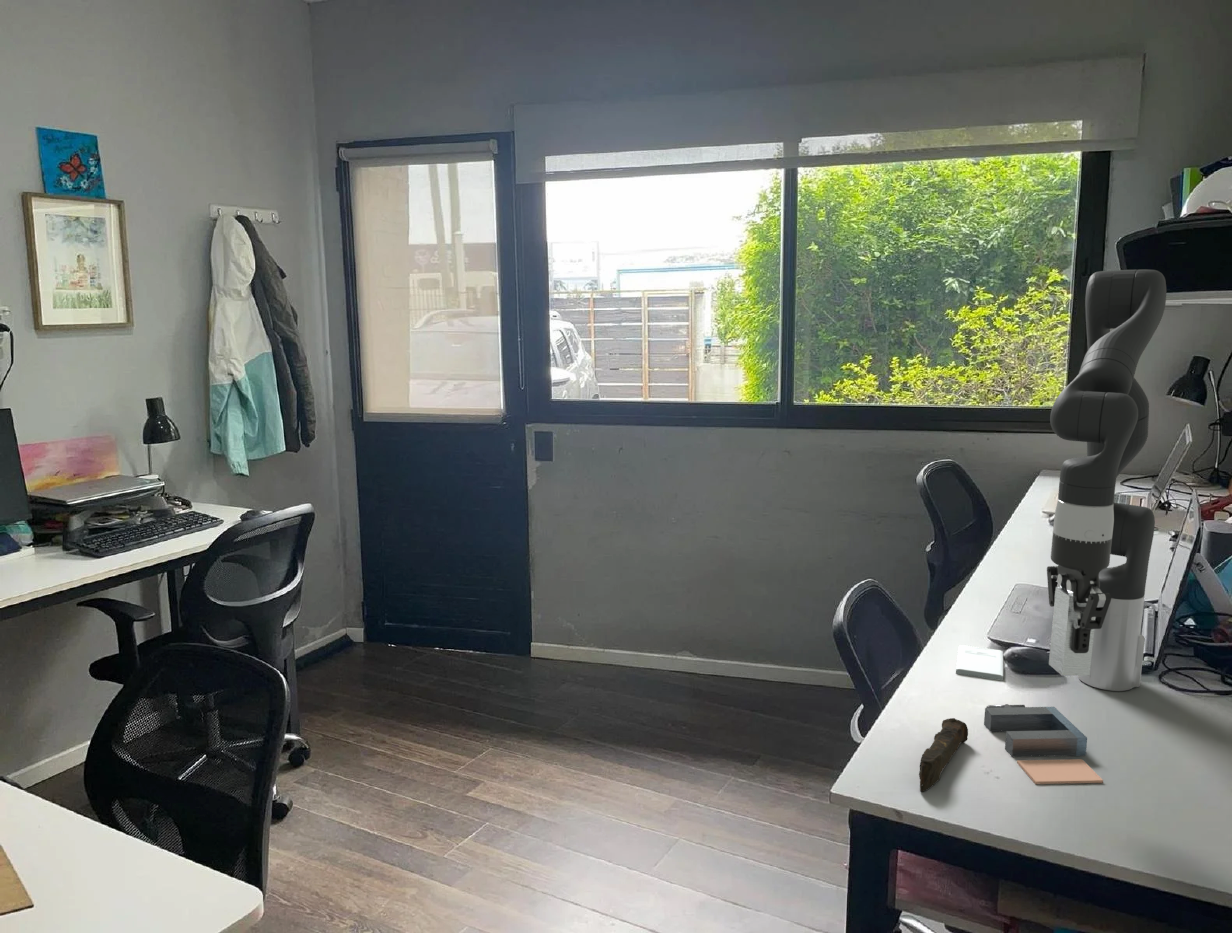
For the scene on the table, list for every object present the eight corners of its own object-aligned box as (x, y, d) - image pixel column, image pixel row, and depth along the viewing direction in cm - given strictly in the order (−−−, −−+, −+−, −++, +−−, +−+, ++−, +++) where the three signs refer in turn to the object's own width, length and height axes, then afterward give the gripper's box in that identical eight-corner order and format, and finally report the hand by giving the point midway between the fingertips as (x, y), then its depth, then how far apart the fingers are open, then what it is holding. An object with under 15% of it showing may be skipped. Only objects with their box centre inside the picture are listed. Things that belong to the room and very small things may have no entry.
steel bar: (1075, 663, 136) (1083, 586, 134) (1089, 675, 132) (1097, 595, 130) (1048, 664, 136) (1055, 587, 134) (1062, 675, 132) (1069, 596, 130)
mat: (1081, 761, 141) (1081, 759, 140) (1102, 782, 135) (1103, 780, 135) (1016, 762, 140) (1017, 760, 140) (1035, 783, 134) (1035, 781, 134)
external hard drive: (955, 676, 172) (958, 651, 183) (1002, 683, 169) (1002, 657, 180) (956, 668, 172) (958, 643, 183) (1003, 675, 169) (1003, 649, 180)
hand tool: (942, 736, 149) (944, 710, 148) (967, 743, 147) (969, 716, 146) (902, 789, 134) (903, 760, 133) (929, 797, 132) (931, 768, 131)
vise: (1042, 713, 156) (1044, 697, 155) (1085, 755, 142) (1087, 737, 142) (975, 714, 156) (976, 698, 155) (1011, 756, 142) (1013, 739, 141)
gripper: (1137, 546, 123) (1124, 665, 127) (1082, 518, 137) (1072, 627, 140) (1082, 546, 123) (1070, 666, 126) (1032, 519, 137) (1023, 628, 140)
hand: (1071, 645), depth 133 cm, fingers closed on steel bar, 4 cm apart
